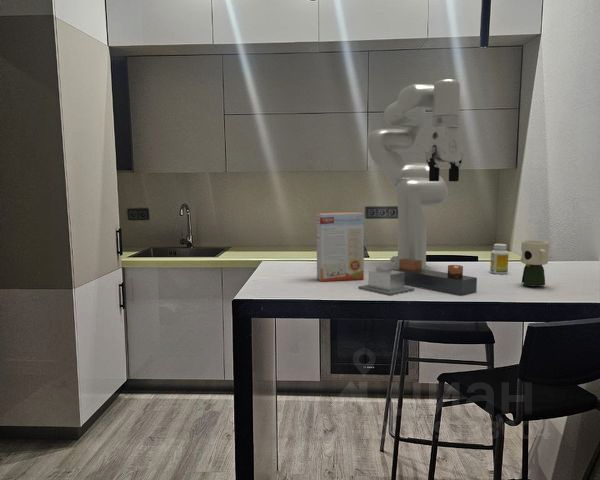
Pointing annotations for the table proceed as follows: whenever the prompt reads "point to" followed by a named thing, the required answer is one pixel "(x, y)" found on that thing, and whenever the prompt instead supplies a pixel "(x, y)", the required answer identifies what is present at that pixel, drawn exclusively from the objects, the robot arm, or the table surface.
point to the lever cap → (386, 279)
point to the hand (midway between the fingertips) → (444, 181)
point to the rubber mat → (405, 289)
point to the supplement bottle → (499, 259)
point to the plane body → (437, 278)
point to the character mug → (534, 261)
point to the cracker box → (340, 246)
